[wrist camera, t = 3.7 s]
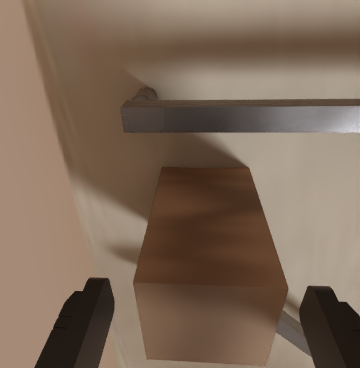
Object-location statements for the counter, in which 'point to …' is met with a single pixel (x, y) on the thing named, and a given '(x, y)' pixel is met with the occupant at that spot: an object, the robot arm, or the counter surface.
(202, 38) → the counter surface
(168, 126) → the wire channel
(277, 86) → the counter surface
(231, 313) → the walnut block
